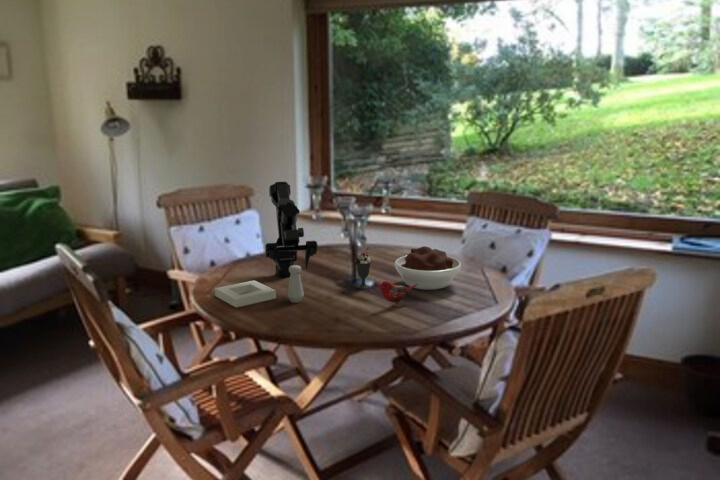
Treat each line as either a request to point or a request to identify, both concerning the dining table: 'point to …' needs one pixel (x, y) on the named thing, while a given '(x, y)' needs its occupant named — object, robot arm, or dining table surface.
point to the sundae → (363, 268)
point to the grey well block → (236, 300)
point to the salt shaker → (295, 285)
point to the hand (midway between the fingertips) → (293, 268)
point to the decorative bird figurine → (394, 292)
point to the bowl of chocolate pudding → (427, 268)
